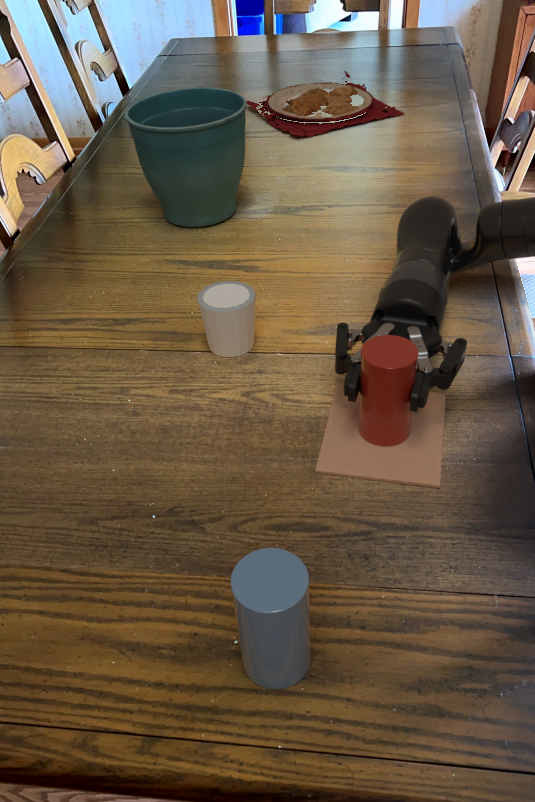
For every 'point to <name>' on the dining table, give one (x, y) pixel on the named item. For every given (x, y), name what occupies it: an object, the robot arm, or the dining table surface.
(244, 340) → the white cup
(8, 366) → the dining table surface
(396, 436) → the glossy red cylinder
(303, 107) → the plate with food
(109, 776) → the dining table surface
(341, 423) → the terracotta mat
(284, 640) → the grey upright cylinder
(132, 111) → the flower pot
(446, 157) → the dining table surface
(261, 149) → the dining table surface
